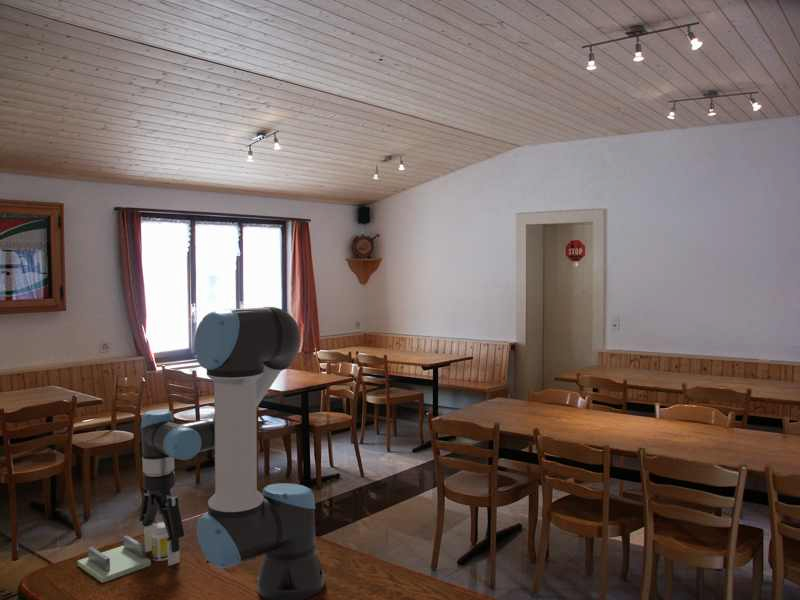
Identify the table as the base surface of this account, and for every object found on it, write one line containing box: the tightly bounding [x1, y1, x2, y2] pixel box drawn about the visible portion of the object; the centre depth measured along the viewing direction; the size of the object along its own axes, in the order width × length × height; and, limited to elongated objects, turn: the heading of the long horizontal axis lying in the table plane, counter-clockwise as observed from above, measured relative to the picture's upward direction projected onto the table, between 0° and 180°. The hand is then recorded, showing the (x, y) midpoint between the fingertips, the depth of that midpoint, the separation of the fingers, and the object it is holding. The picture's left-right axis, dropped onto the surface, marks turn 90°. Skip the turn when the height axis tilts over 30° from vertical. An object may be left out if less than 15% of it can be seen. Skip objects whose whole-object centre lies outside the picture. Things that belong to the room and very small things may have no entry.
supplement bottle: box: [151, 521, 169, 562], centre depth 168 cm, size 5×5×8 cm
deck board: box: [77, 544, 152, 584], centre depth 164 cm, size 14×12×1 cm
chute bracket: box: [87, 535, 147, 572], centre depth 165 cm, size 10×10×3 cm
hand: (162, 556), depth 168 cm, fingers open, 11 cm apart
